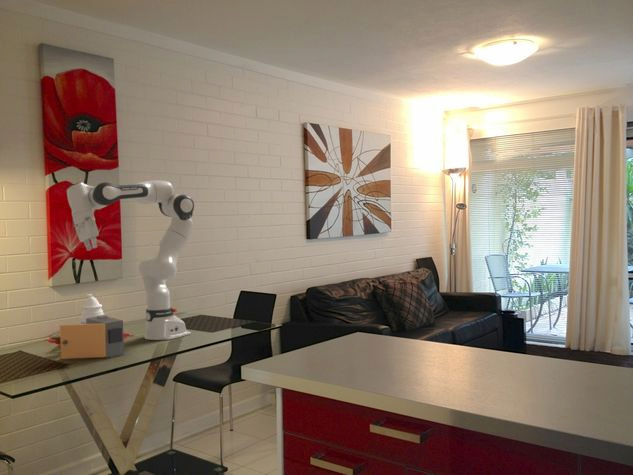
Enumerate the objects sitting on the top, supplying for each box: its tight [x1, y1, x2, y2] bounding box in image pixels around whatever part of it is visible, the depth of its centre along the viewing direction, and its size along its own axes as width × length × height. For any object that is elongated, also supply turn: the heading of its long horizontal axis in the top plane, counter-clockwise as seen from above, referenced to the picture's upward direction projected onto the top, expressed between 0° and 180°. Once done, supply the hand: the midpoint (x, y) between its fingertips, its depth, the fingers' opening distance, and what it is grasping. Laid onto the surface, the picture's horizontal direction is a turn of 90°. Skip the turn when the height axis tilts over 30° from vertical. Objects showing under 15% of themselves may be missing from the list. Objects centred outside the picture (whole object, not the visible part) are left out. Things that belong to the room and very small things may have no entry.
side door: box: [59, 323, 106, 360], centre depth 252 cm, size 3×18×14 cm, turn 96°
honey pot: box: [79, 293, 105, 324], centre depth 322 cm, size 13×13×18 cm
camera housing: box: [86, 314, 125, 359], centre depth 263 cm, size 8×19×16 cm, turn 46°
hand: (92, 249), depth 268 cm, fingers open, 8 cm apart
